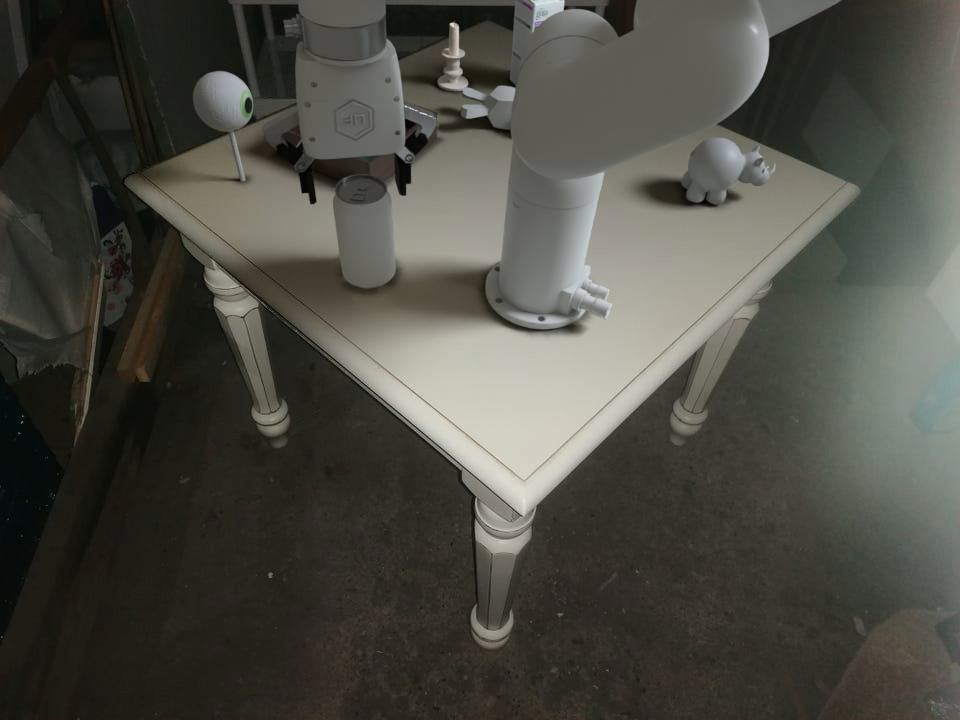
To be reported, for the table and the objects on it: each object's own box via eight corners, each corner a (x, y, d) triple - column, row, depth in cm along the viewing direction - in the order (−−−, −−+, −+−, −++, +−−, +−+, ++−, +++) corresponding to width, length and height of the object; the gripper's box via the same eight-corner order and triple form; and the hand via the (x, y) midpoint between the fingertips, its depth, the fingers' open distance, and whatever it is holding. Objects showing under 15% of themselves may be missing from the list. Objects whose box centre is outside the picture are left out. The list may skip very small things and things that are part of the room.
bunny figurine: (561, 117, 101) (463, 101, 99) (553, 147, 104) (458, 132, 103) (556, 87, 107) (464, 71, 105) (549, 116, 111) (459, 102, 109)
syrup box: (525, 95, 113) (535, 4, 102) (508, 79, 116) (515, -10, 105) (553, 88, 115) (566, -1, 104) (535, 73, 118) (546, -15, 107)
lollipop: (256, 198, 90) (230, 91, 79) (206, 190, 91) (174, 83, 79) (277, 170, 95) (256, 65, 83) (230, 162, 95) (202, 57, 84)
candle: (472, 81, 115) (475, 18, 108) (461, 94, 112) (463, 30, 104) (444, 74, 116) (445, 12, 109) (432, 87, 113) (432, 23, 105)
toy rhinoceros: (767, 214, 94) (792, 161, 87) (682, 207, 94) (700, 153, 87) (756, 185, 98) (779, 132, 92) (675, 178, 98) (692, 125, 92)
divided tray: (437, 139, 102) (437, 112, 99) (371, 192, 92) (369, 164, 89) (348, 107, 107) (346, 80, 104) (277, 154, 97) (272, 126, 94)
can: (401, 259, 83) (397, 176, 74) (387, 294, 79) (381, 210, 70) (351, 251, 84) (341, 168, 75) (335, 285, 79) (322, 201, 70)
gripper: (245, 55, 56) (277, 221, 69) (447, 46, 60) (441, 205, 72) (242, 17, 60) (273, 180, 73) (429, 11, 64) (427, 167, 77)
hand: (357, 192), depth 73 cm, fingers open, 9 cm apart
